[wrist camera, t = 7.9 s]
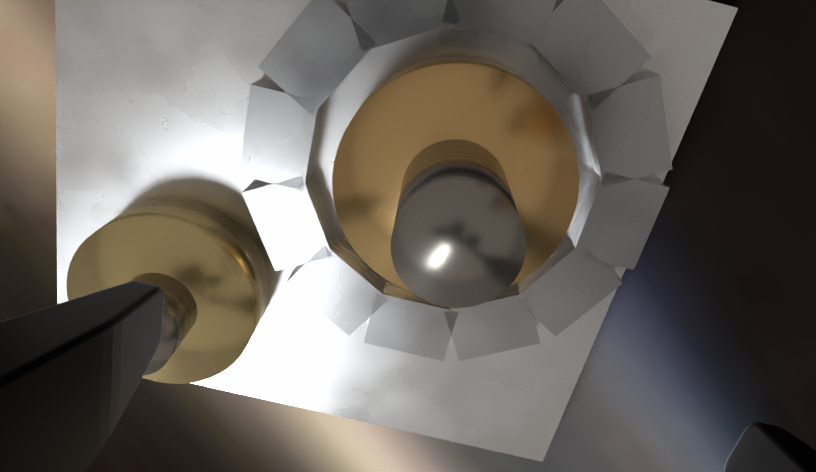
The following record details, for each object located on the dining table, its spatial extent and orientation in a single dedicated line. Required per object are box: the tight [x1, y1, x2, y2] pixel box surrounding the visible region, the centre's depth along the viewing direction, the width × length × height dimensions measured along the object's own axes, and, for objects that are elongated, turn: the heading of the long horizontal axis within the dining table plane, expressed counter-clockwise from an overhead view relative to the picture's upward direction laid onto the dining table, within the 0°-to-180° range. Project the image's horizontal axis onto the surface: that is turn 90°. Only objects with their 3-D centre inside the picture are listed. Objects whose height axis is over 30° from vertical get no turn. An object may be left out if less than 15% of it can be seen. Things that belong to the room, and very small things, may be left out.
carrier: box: [55, 0, 738, 462], centre depth 18 cm, size 19×17×5 cm
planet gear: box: [332, 56, 579, 308], centre depth 16 cm, size 7×7×6 cm
